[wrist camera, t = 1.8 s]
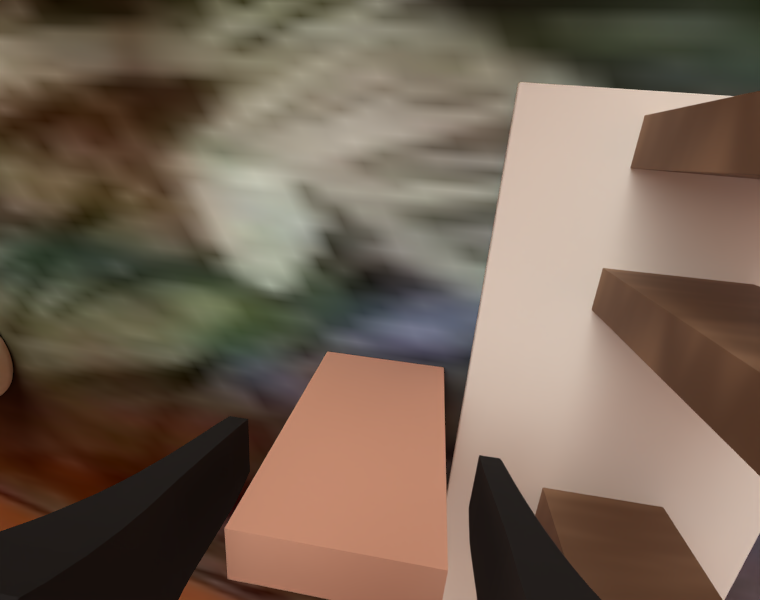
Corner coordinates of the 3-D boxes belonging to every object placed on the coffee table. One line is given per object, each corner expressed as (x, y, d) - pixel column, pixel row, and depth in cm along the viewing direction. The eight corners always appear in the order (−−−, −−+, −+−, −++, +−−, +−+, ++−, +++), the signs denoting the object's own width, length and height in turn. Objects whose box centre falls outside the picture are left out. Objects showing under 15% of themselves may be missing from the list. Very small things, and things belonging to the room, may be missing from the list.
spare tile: (327, 351, 18) (224, 528, 9) (443, 367, 17) (447, 570, 9) (325, 383, 18) (227, 579, 10) (438, 400, 18) (438, 621, 9)
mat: (968, 113, 12) (981, 112, 12) (686, 658, 20) (689, 665, 20) (517, 83, 13) (519, 82, 13) (426, 607, 22) (426, 613, 21)
